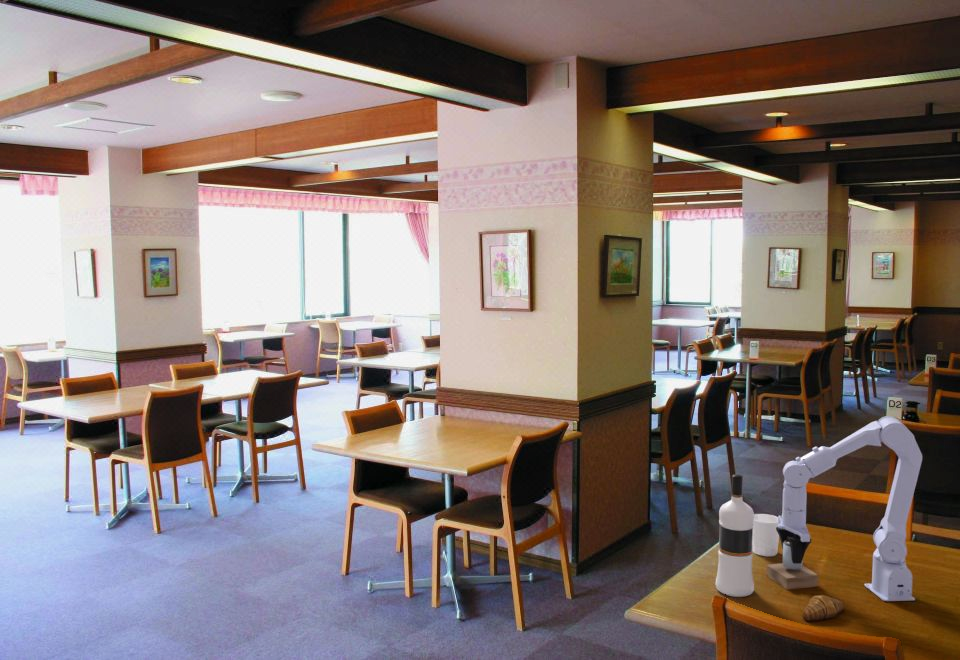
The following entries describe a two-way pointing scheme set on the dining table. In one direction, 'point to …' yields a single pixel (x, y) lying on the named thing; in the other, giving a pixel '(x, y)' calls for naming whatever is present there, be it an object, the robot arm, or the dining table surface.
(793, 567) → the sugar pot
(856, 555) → the dining table surface
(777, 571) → the walnut box
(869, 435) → the robot arm
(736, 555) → the vodka
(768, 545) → the white cup
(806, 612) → the croissant
